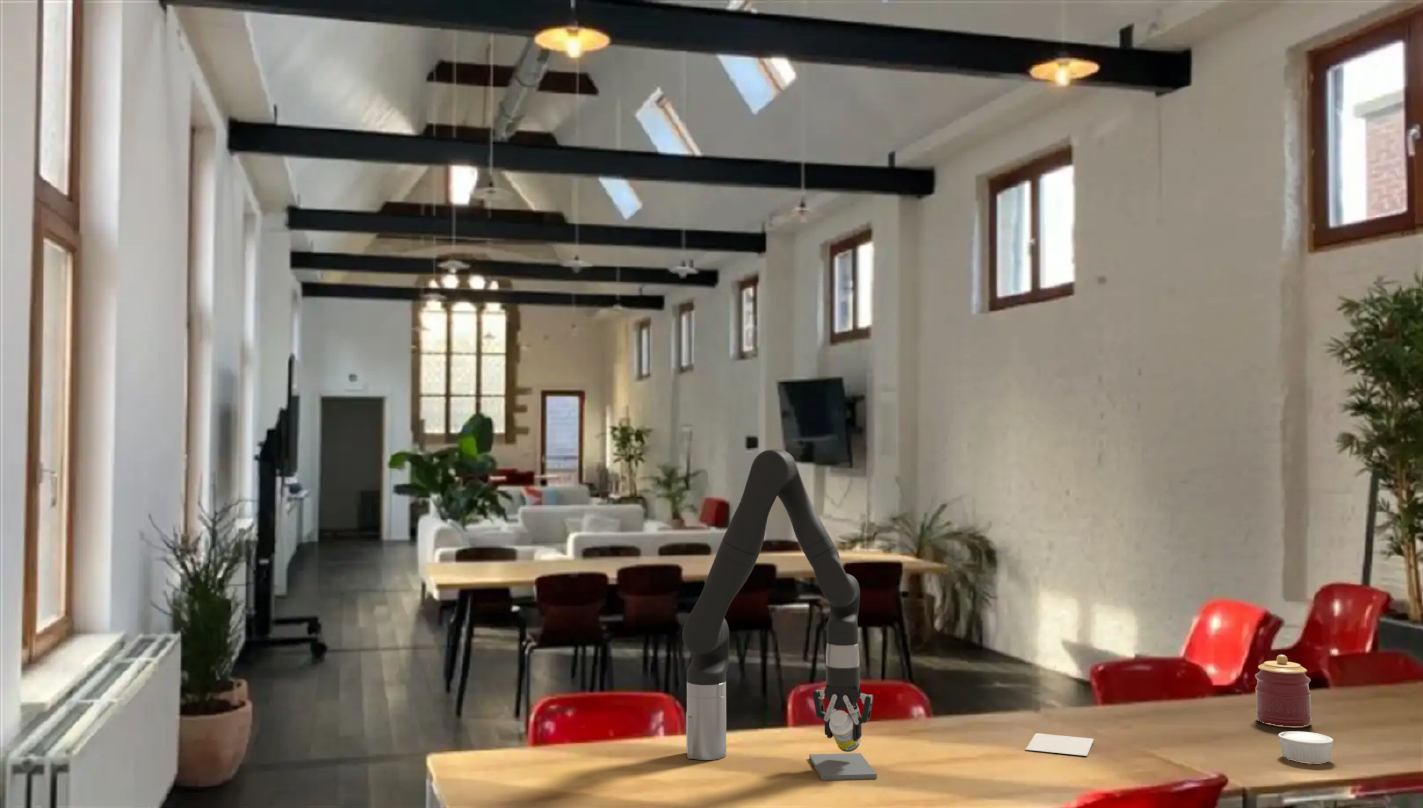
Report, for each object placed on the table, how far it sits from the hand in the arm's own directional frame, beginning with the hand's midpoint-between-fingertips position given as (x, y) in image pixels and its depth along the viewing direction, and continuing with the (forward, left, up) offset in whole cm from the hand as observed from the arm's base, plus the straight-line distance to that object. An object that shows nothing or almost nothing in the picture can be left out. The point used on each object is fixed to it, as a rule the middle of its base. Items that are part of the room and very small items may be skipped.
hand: (843, 738), depth 250 cm
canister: (+122, +30, -7) cm, 126 cm away
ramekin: (+107, -3, -7) cm, 107 cm away
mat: (0, -1, -6) cm, 7 cm away
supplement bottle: (+2, +4, -2) cm, 5 cm away
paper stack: (+58, +8, -7) cm, 59 cm away
